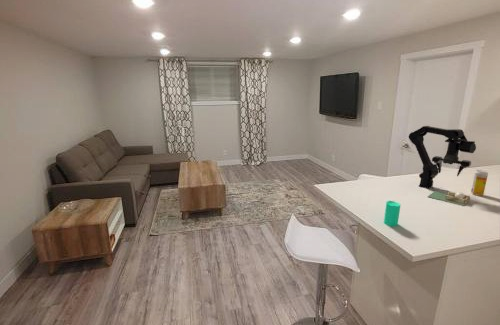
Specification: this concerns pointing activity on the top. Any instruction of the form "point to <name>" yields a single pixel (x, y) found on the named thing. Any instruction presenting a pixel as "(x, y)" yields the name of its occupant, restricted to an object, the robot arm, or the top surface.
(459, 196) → the golf ball
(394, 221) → the candle
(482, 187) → the orange cylindrical container
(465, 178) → the top surface
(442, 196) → the putting mat
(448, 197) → the u-shaped wooden rail
